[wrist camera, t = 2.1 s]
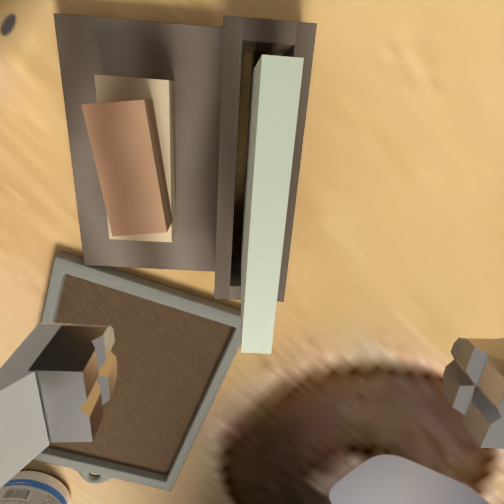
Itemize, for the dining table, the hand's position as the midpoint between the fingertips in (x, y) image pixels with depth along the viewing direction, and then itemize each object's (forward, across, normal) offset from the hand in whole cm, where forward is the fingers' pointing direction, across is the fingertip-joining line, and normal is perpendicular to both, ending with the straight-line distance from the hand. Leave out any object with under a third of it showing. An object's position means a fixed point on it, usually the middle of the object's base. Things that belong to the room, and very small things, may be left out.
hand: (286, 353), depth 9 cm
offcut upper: (+21, +9, 0) cm, 23 cm away
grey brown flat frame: (+26, +12, +26) cm, 39 cm away
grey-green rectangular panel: (+25, 0, 0) cm, 25 cm away
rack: (+25, +6, 0) cm, 25 cm away
